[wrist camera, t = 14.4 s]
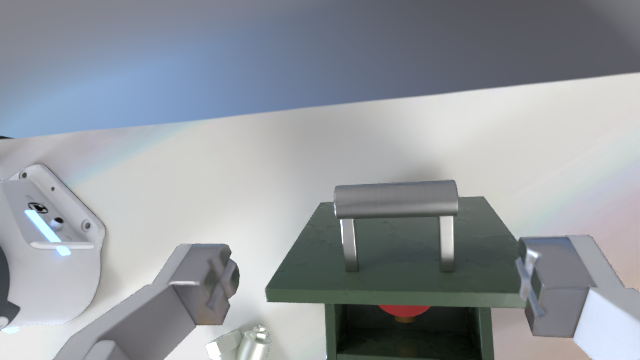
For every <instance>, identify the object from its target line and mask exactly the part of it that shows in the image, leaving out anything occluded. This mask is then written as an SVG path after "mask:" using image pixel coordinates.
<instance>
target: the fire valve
mask: <svg viewBox="0 0 640 360" xmlns="http://www.w3.org/2000/svg"><path fill="white" fill-rule="evenodd" d="M378 306H379V307H381V308H382V309H383V310H385V311H386V312H388V313H390V314H392V315H395V319H396V321H398V322H402V323H411V322H414V321H415V316H416V315H419V314H421V313H423V312H424V311H426V310H427V309H428V308H430V306H414V305H378Z"/></svg>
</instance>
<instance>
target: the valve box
mask: <svg viewBox="0 0 640 360" xmlns="http://www.w3.org/2000/svg"><path fill="white" fill-rule="evenodd" d="M325 328H326V360H494V348H493V335H492V321H491V308H490V307H456V306H430V308H428V309H427V310H426V311H424V312H423V313H421V314H419V315H416V316H415V321H414V322H411V323H402V322H398V321H396V319H395V315H392V314H390V313H388V312H386V311H385V310H383V309H382V308H381V307H379V306H378V305H372V304H330V303H325Z"/></svg>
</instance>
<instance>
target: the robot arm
mask: <svg viewBox="0 0 640 360" xmlns="http://www.w3.org/2000/svg"><path fill="white" fill-rule="evenodd" d="M1 139H15V138H10V137H5V136H0V140H1ZM104 237H105V226H104V224H103V223H102V222H101V221H100V220H99V219H98V218H97V217H96V216H95V215H94V214H93V213H92V212H91V211H90V210H89V209H88V208H87V207H86V206H85V205H84V204H83V203H82V202H81V201H80V200H79V199H78V198H77V197H76V196H75V195H74V194H73V193H72V192H71V191H70V190H69V189H68V188H67V187H66V186H65V185H64V184H63V183H62V182H61V181H60V180H59V179H58V178H57V177H56V176H55V175H54V174H53V173H52V172H51V171H50V170H49V169H48V168H47V167H46V166H44V165H32V166H29V167H26V168H24V169H22V170H20V171H18V172H17V173H15V174H14V175H13V176H11V177H10V178H9V179H8V180H2V181H0V330H3V331H5V332H7V333H9V334H11V333H14V332H18V329H17V328H15V327H19V326H27V325H37V324H63V323H66V322H69V321H71V320H73V319H75V318H76V317H78V316H79V315H80V314H81V313H82V312H83V311H84V310H85V309H86V308H87V307H88V305H89V304H90V302H91V301H92V299H93V297H94V295H95V293H96V290H97V287H98V284H99V279H100V271H101V261H100V252H101V247H102V244H103V240H104ZM517 249H518V252H519V254H520V257H519V258H518V259H517V260H515V268H514V274H515V283H516V288H517V291H518V294H519V297H520V298H521V299H523V300H524V301H525V302H526V307H525V315H526V317H527V320H528V323H529V326H530V329H531V332H532V334H533V336H544V337H561V338H573V341H574V342H575V343H576V344H577V345H578V346H579V347H580V348H581V349H582V350H583V351H585V352H586V353H587V354H588V355H589V356H590V357H591V358H592V359H593V360H640V292H639V291H637V290H636V289H634V288H625V286H624V285H623V283H622V281H621V280H620V278H619V277H618V275H617V274H616V272H615V271H614V269H613V268H612V266H611V265H610V263H609V262H608V260H607V259H606V257H605V255H604V254H603V252H602V251H601V249H600V248H599V246H598V245H597V243H596V242H595V240H594V239H593V237H591V236H590V235H566V236H538V237H520V239H519V241H518V247H517ZM231 253H232V252H231V250H230V248H229V246H228V245H226V244H180V245H179V246H177V247H176V248H175V250H174V251H173V253H172V254H171V256H170V257H169V259H168V260H167V262H166V263H165V265H164V266H163V268H162V269H161V271H160V272H159V274H158V275H157V277H156V278H155V280H154V281H153V283H152V284H151V285H146V286H144V287H143V288H141V289H140V290H138V291H137V292H135V293H134V294H132V295H131V296H130V297H128V298H127V299H125V300H124V301H122V302H121V303H119V304H118V305H116V306H115V307H113V308H112V309H111V310H109V311H108V312H106V313H105V314H103V315H102V316H100V317H99V318H97V319H96V320H95V321H93V322H92V323H90V324H89V325H87V326H86V327H84V328H83V329H81V330H80V331H78V332H77V333H76V334H74V335H73V336H71V337H70V338H69V339H68V341H67V342H66V343H65V345H64V346H63V347H62V348H61V350H60V351H59V352H58V354H57V355H56V356H55V357H54V359H53V360H163V359H164V358H165V357H166V356H167V355H168V354H169V353H170V352H171V351H172V350H173V349H174V348H175V347H176V346H177V345H178V344H179V343H180V342H181V341H182V340H183V339H184V338H185V337H186V336H187V335H188V334H189V333H190V332H191V331H192V330H193V329H194V328H195V327H196V325H222V324H223V321H224V319H225V317H226V314H227V312H228V310H229V307H230V304H229V301H228V299H229V298H231V297H232V296H233V295H234V294H235V293H236V291H237V288H238V285H239V277H240V275H239V269H238V266H237V264H236V263H235V262H234V261H233V260H231V259H230V258H229V257H230V255H231Z"/></svg>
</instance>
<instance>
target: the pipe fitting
mask: <svg viewBox="0 0 640 360" xmlns="http://www.w3.org/2000/svg"><path fill="white" fill-rule="evenodd" d="M265 328H266V327H265V326H263V325H258V327H254V328H253V329H252V330H248V331H245V332H244V335H243V338H242V336H241V333H240V331H239V329H236V330H233V331H231V332H229V333H227V334H225V335H223V336H221V337H219V338H217V339H215V340H213V341H212V342H210V343H209V344H208V345H207V346H206V347H207V350H208V352H209V355H210V358H214V360H266V358H267V355H268V352H269V349H270V346H271V343H272V340H271V338H270V337H269V336H267V335H268V332H267V331H266V330H265Z"/></svg>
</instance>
